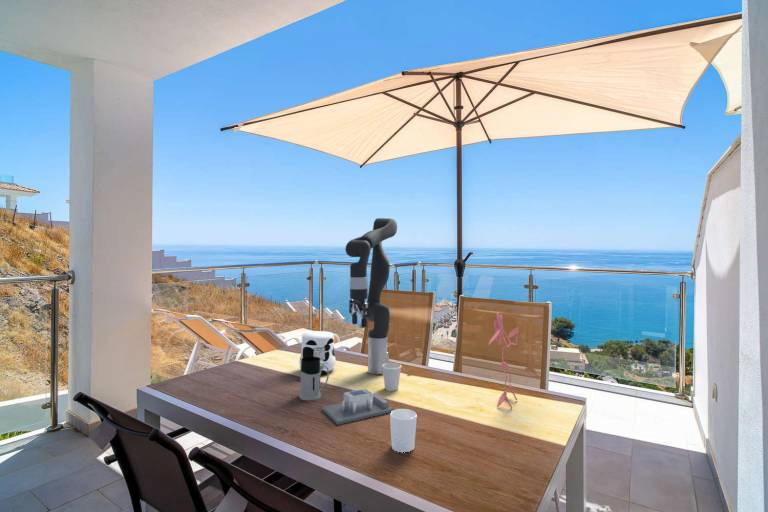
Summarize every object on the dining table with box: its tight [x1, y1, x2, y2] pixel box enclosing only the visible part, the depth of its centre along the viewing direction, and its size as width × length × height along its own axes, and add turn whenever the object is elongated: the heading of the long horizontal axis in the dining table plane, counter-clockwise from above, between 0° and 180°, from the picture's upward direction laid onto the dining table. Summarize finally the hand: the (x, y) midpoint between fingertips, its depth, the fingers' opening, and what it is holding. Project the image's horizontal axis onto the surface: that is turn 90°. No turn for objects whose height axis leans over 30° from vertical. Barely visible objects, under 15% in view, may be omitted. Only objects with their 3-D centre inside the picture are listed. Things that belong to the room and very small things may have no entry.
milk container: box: [299, 330, 337, 375], centre depth 186 cm, size 17×17×18 cm
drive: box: [343, 388, 373, 413], centre depth 140 cm, size 9×5×6 cm, turn 120°
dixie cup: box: [382, 362, 403, 392], centre depth 163 cm, size 8×8×10 cm
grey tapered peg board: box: [321, 392, 395, 426], centre depth 140 cm, size 22×14×5 cm, turn 120°
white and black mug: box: [298, 357, 330, 401], centre depth 152 cm, size 9×14×15 cm, turn 55°
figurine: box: [488, 312, 520, 409], centre depth 151 cm, size 15×26×35 cm, turn 149°
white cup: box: [389, 408, 417, 454], centre depth 114 cm, size 8×8×10 cm
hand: (359, 325), depth 163 cm, fingers open, 8 cm apart
